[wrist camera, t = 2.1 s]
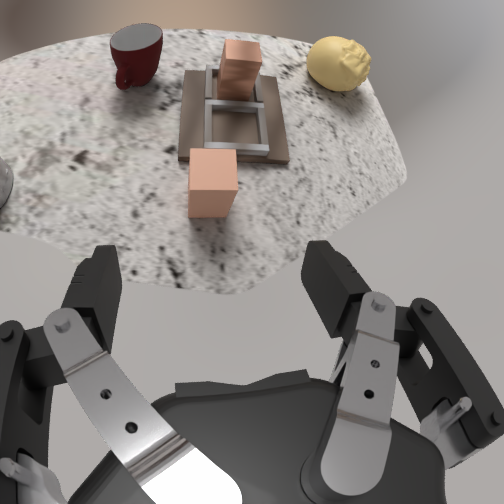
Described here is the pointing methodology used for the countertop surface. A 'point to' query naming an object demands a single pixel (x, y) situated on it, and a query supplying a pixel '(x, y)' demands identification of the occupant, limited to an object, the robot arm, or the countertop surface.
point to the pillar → (211, 182)
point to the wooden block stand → (233, 108)
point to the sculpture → (338, 63)
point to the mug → (136, 54)
